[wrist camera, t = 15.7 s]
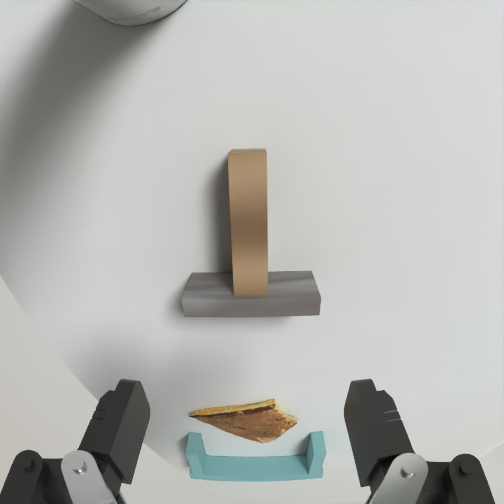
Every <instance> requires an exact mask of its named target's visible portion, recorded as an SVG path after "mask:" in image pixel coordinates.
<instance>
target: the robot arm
mask: <svg viewBox="0 0 504 504" xmlns="http://www.w3.org/2000/svg"><path fill="white" fill-rule="evenodd" d="M75 1H76V2H78V3H80V4H82V5H83V6H85V7H87V8H88V9H90V10H92V11H93V12H95V13H97V14H99V15H100V16H102V17H104V18H105V19H107V20H109V21H110V22H112V23H115V24H119V25H126V26H134V25H142V24H146V23H149V22H153V21H156V20H158V19H160V18H162V17H164V16H166V15H168V14H169V13H171V12H173V11H174V10H176V9H177V8H178V7H179V6H181V5H182V4H183V3H184V2H185V1H186V0H75ZM149 418H150V407H149V403H148V401H147V398H146V395H145V392H144V389H143V387H142V384H141V382H140V381H135V380H126V379H121V380H120V381H119V383H118V385H117V387H116V390H115V391H112V390H109V391H108V392H107V393H106V394H105V395H104V396H103V397H102V398H100V401H99V403H98V405H97V407H96V411H95V412H94V414H93V416H92V419H91V421H90V423H89V425H88V427H87V430H86V432H85V434H84V437H83V439H82V441H81V444H80V446H79V448H78V449H77V450H76V451H72V452H70V453H68V454H67V455H66V456H65V457H64V458H62V459H43V458H42V457H41V456H40V455H39V454H38V453H37V452H35V451H32V450H25V451H22V452H20V453H19V454H18V455H17V456H16V457H15V459H14V461H13V464H12V466H11V468H10V471H9V473H8V476H7V479H6V481H5V483H4V486H3V488H2V491H1V494H0V504H127V503H126V501H125V499H124V497H123V495H122V493H121V492H120V487H121V483H126V484H131V482H132V479H133V475H134V471H135V468H136V464H137V460H138V457H139V453H140V450H141V446H142V443H143V439H144V436H145V432H146V429H147V425H148V422H149ZM344 418H345V423H346V427H347V431H348V435H349V439H350V443H351V447H352V451H353V455H354V459H355V464H356V468H357V472H358V477H359V481H360V486H361V487H365V486H370V489H371V494H370V496H369V497H368V499H367V501H366V503H365V504H495V502H494V499H493V496H492V493H491V490H490V487H489V485H488V482H487V479H486V476H485V474H484V471H483V469H482V466H481V464H480V462H479V460H478V459H477V458H476V457H475V456H473V455H470V454H460V455H458V456H456V457H455V458H454V459H453V460H452V461H451V462H429V461H425V460H424V459H423V458H422V457H421V456H419V455H417V454H415V452H414V450H413V448H412V446H411V443H410V440H409V438H408V435H407V433H406V430H405V428H404V425H403V422H402V420H401V419H400V418H401V417H400V415H399V413H398V412H397V408H396V405H395V403H394V400H393V398H392V397H391V396H390V395H389V394H387V393H386V392H385V391H384V390H382V391H376V388H375V385H374V383H373V381H372V380H371V379H365V380H356V381H352V382H351V384H350V387H349V391H348V395H347V399H346V402H345V406H344Z"/></svg>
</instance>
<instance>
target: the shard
mask: <svg viewBox="0 0 504 504" xmlns="http://www.w3.org/2000/svg"><path fill="white" fill-rule="evenodd" d="M189 417H192V418H196V419H197V420H200V421H202V422H204V423H208V424H211V425H213V426H215V427H217V428H219V429H221V430H224V431H226V432H229V433H232V434H234V435H237V436H240V437H243V438H245V439H249V440H253V441H257V442H260V443H267V442H270V441H272V440H275V439H277V438H278V437H280V436H281V435H282V434H283V433H285V432H286V431H287V430H288V429H290V428H291V427H293V426H294V425H296V424H297V422H298V419H297V418H295V417H293V416H289V415H287V414H286V413H285V412H284V411H283V410H282V409H281V408H280V407H279V405H278V404H277V402H276V401H275V399H270V400H268V401H265V402H260V403H258V404H252V405H240V406H226V407H215V408H208V409H203V410H197V411H194V414H191V415H189Z"/></svg>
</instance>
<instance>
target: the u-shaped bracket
mask: <svg viewBox="0 0 504 504" xmlns="http://www.w3.org/2000/svg"><path fill="white" fill-rule="evenodd" d="M185 455H186V457H187V460H188V463H189V465H190V473H189V474H190V477H191V479H202V480H217V481H287V480H302V479H314V478H322V475H323V469H322V465H323V462H324V459H325V455H326V448H325V443H324V437H323V431H322V432H311V435H310V440H309V444H308V449H307V454H306V455H298V456H279V457H223V456H206V452H205V449H204V445H203V441H202V437H201V433H189V436H188V441H187V447H186V452H185Z"/></svg>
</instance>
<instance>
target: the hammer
mask: <svg viewBox="0 0 504 504" xmlns="http://www.w3.org/2000/svg"><path fill="white" fill-rule="evenodd" d="M228 175H229V200H230V223H231V245H232V265H233V272H219V273H192V274H191V277H190V279H189V282H188V284H187V287H186V289H185V291H184V294H183V296H182V299H181V301H182V307H183V314H184V317H279V316H310V315H319V314H320V303H321V296H320V293H319V290H318V288H317V285H316V282H315V279H314V276H313V274H312V271H284V272H268V240H267V152H266V150H265V149H232V150H231V151H230V152H229V153H228Z"/></svg>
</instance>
